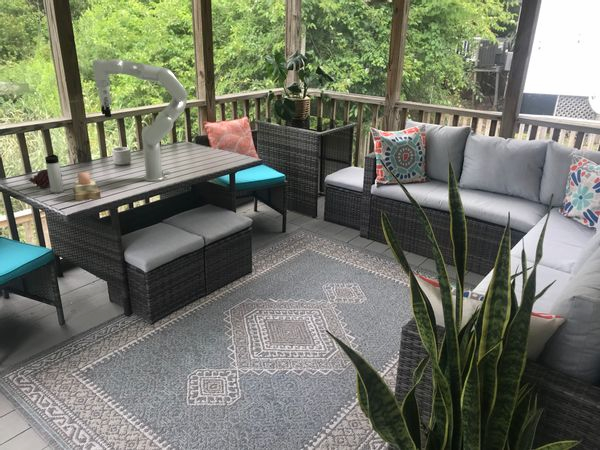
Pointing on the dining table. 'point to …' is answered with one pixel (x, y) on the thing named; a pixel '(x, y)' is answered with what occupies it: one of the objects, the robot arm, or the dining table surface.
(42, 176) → the pine cone
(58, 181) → the travel mug
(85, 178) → the terracotta round block
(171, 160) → the dining table surface
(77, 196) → the oak base block
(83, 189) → the maple top block
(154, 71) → the robot arm
